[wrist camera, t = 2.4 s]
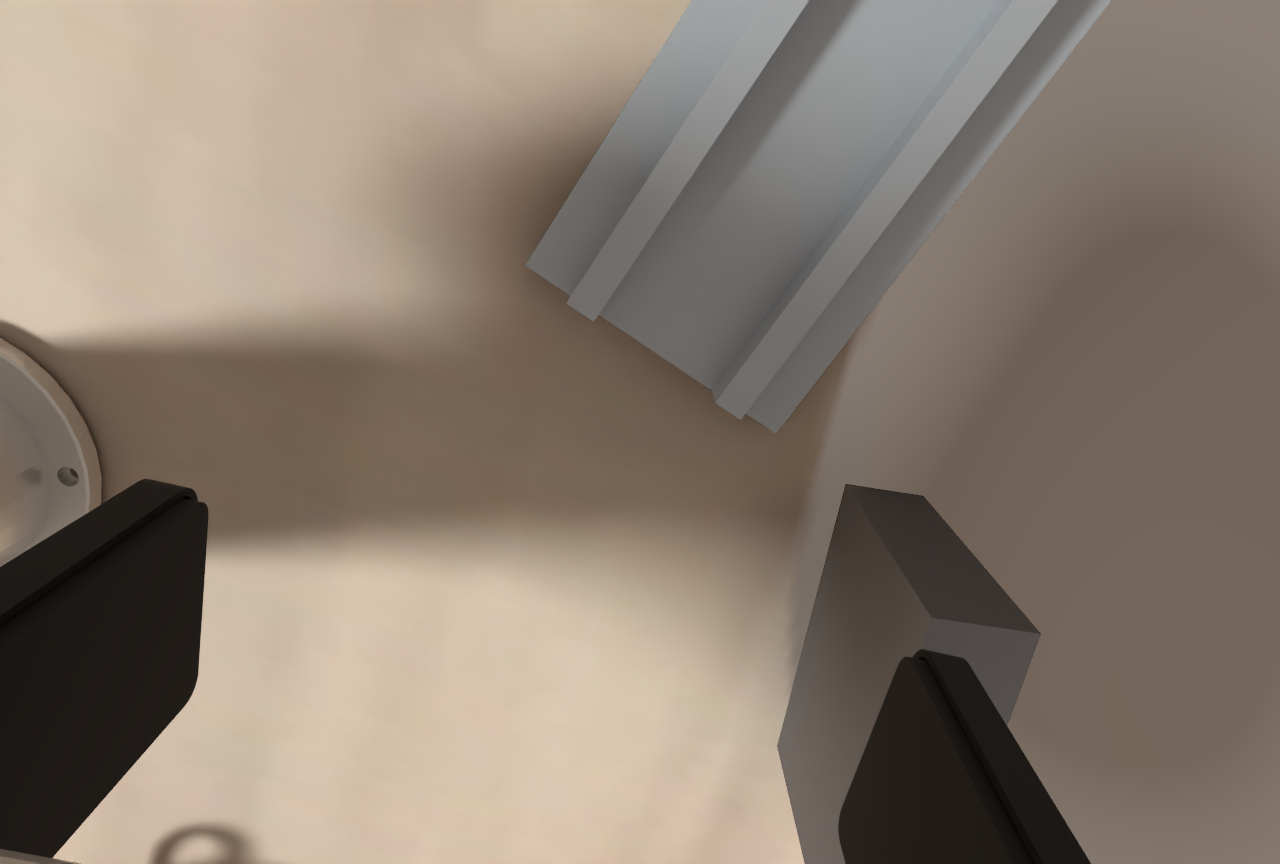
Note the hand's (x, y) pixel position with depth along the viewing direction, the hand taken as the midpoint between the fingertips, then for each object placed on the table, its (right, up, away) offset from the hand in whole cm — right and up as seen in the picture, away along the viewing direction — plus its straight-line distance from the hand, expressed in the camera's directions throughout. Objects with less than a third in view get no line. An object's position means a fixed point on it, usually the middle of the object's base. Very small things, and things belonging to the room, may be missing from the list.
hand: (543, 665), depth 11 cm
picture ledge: (+9, +17, +19) cm, 27 cm away
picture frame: (+11, -6, +27) cm, 30 cm away
